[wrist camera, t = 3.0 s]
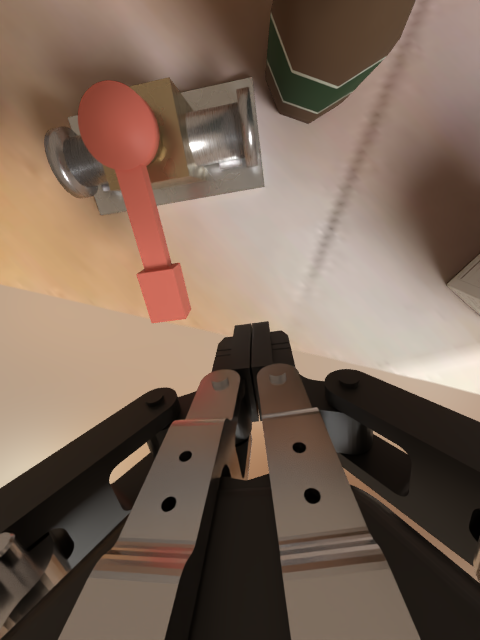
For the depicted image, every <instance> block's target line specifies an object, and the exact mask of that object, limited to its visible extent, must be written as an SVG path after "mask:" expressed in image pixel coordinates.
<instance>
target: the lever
mask: <svg viewBox="0 0 480 640" xmlns="http://www.w3.org/2000/svg"><path fill="white" fill-rule="evenodd" d="M78 126H79V131H80V134H81V137H82V140H83V142H84V144H85V146H86V147H87V149H88V151H89V152H90V153H91V154H92V156H93V157H94V158H95V159H96V160H98V161H99V162H100V163H102V164H103V165H105V166H107V167H109V168H112V169H115V172H116V175H117V179H118V182H119V185H120V189H121V192H122V195H123V199H124V202H125V206H126V209H127V212H128V216H129V219H130V222H131V226H132V229H133V232H134V236H135V239H136V242H137V246H138V249H139V252H140V256H141V259H142V262H143V266H144V270H142V271H141V272H139V273H138V274H137V278H138V281H139V284H140V287H141V290H142V294H143V297H144V300H145V303H146V306H147V310H148V313H149V316H150V319H151V322H152V323H157V322H165V321H173V320H181V319H186V318H187V316H188V314H189V312H190V310H191V307H190V303H189V298H188V294H187V290H186V286H185V282H184V278H183V274H182V270H181V266H180V263H175V264H172V263H171V260H170V256H169V252H168V248H167V244H166V240H165V236H164V232H163V229H162V225H161V221H160V217H159V213H158V209H157V205H156V201H155V198H154V194H153V190H152V186H151V182H150V178H149V174H148V171H147V167H146V166H148V165H149V164H150V163H151V161H152V160H153V159H154V157H155V155H156V153H157V150H158V147H159V140H160V134H159V126H158V122H157V119H156V117H155V114H154V112H153V111H152V109H151V107H150V106H149V105H148V103H147V102H146V101H145V100H144V99H143V98H142V97H141V96H139V95H138V94H137V93H136V92H135V91H134V90H132V89H131V88H130V87H128V86H126V85H125V84H123V83H120V82H117V81H111V80H106V81H101V82H98V83H96V84H94V85H92V86H91V87H90V88H89V89H88V90H87V91H86V92H85V94H84V95H83V97H82V99H81V101H80V105H79V109H78Z"/></svg>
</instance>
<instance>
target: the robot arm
mask: <svg viewBox="0 0 480 640" xmlns="http://www.w3.org/2000/svg"><path fill="white" fill-rule="evenodd" d="M258 409H259V411H258ZM259 415H260V421H262V423H263V431H264V438H265V445H266V453H267V460H268V467H269V474H267V475H263V476H261V477H257V478H254V479H251V480H248V474H249V464H250V455H251V445H252V436H251V429H252V422H256V421H259ZM373 431H375V432H377V433H378V434H380V435H382V436H383V437H385V438H387V439H388V440H390V441H392V442H394V443H395V444H397V445H399V446H400V447H401V448H403V449H404V450H405V451H406V453H407V454H406V453H404V452H403V451H401V450H399V449H397V448H396V447H394V446H392V445H391V444H389V443H387V442H386V441H384V440H382V439H381V438H379V437H377V436H376V435H374V434H373ZM146 442H147V444H148V446H149V449H150V451H151V453H149V454H148V455H147V456H146V457H144V458H143V459H142V460H141V461H140V462H138V463H137V464H136V465H135V466H134V467H132V468H131V469H130V470H129V471H128V472H126V473H125V474H124V475H123V476H121V477H120V478H119V479H118V480H117V481H115V482H114V483H112V484H110V483H109V477H110V474H111V472H112V470H113V469H114V468H115V467H116V466H117V465H118V464H119V463H120V462H122V461H123V460H124V459H126V458H127V457H128V456H129V455H130V454H132V453H133V452H134V451H136V450H137V449H138V448H139V447H141V446H142V445H143V444H145V443H146ZM343 468H345V469H346V470H347V471H349V472H350V473H351V474H353V475H354V476H355V477H356V478H358V479H359V480H360V481H362V482H363V483H364V484H366V485H367V486H369V487H370V488H371V489H372V490H374V491H375V492H376V493H378V494H379V495H380V496H381V497H383V498H384V499H386V500H387V501H388V502H389V503H391V504H392V505H393V506H395V507H396V508H397V509H399V510H400V511H401V512H402V513H404V514H405V515H406V516H408V517H409V518H410V519H412V520H413V521H414V522H416V523H417V524H418V525H419V526H421V527H422V528H423V529H425V530H426V531H427V532H429V533H430V534H431V535H433V536H434V537H435V538H437V539H438V540H439V541H440V542H442V543H443V544H444V545H446V546H447V547H448V548H450V549H451V550H452V551H454V552H455V553H456V554H458V555H459V556H460V557H461V558H463V559H464V560H465V561H467V562H468V563H470V564H471V565H472V566H473V567H474V570H475V573H476V576H477V578H478V581H479V582H477V581H476V580H475V579H474V578H472V577H471V576H470V575H469V574H468V573H466V572H465V571H464V570H463V569H462V568H460V567H459V566H458V565H457V564H455V563H454V562H453V561H452V560H451V559H449V558H448V557H447V556H446V555H445V554H443V553H442V552H441V551H440V550H438V549H437V548H436V547H435V546H433V545H432V544H431V543H430V542H429V541H428V540H426V539H425V538H424V537H423V536H421V535H420V534H419V533H418V532H417V531H415V530H414V529H413V528H412V527H411V526H409V525H408V524H407V523H406V522H404V521H403V520H402V519H401V518H400V517H398V516H397V515H396V514H394V513H393V512H392V511H391V510H390V509H389V508H387V507H386V506H385V505H384V504H382V503H381V502H380V501H379V500H377V499H376V498H374V497H373V496H371V495H370V494H368V493H367V492H365V491H363V490H361V489H359V488H357V487H355V486H352V485H350V484H349V482H348V480H347V477H346V475H345V472H344V470H343ZM0 640H480V422H478V421H476V420H473V419H471V418H469V417H466V416H464V415H461V414H459V413H457V412H455V411H452V410H450V409H448V408H445V407H443V406H441V405H438V404H436V403H434V402H431V401H429V400H426V399H424V398H422V397H419V396H417V395H415V394H412V393H410V392H407V391H405V390H403V389H401V388H398V387H396V386H393V385H391V384H389V383H386V382H384V381H381V380H379V379H377V378H375V377H372V376H370V375H368V374H365V373H363V372H360V371H357V370H351V369H342V370H337V371H334V372H332V373H330V374H329V375H327V377H326V378H325V381H316V380H311V379H307V378H305V377H303V376H301V375H300V374H299V372H298V370H297V369H296V368H295V364H294V359H293V355H292V351H291V347H290V343H289V338H288V335H287V334H285V333H284V332H283V331H274V332H270V329H269V322H268V321H267V322H259V323H252V325H251V324H244V325H236V326H235V328H234V335H233V337H225V338H224V339H223V340H222V341H221V342H220V343H219V344H218V348H217V352H216V357H215V360H214V364H213V369H212V372H211V373H209V374H208V375H206V376H205V377H204V378H203V379H202V380H201V382H200V385H199V387H198V389H197V391H196V392H193V393H190V394H187V395H184V396H181V397H177V394H176V392H175V391H174V390H173V389H171V388H157V389H154V390H151V391H149V392H147V393H146V394H144V395H142V396H141V397H139V398H138V399H136V400H135V401H133V402H132V403H130V404H128V405H127V406H125V407H124V408H122V409H121V410H119V411H118V412H116V413H115V414H113V415H112V416H110V417H109V418H107V419H106V420H104V421H103V422H101V423H99V424H98V425H96V426H95V427H93V428H92V429H90V430H89V431H87V432H86V433H84V434H83V435H81V436H80V437H78V438H77V439H75V440H74V441H72V442H70V443H69V444H67V445H66V446H65V447H63V448H61V449H60V450H58V451H57V452H55V453H54V454H52V455H51V456H49V457H48V458H46V459H45V460H43V461H42V462H40V463H39V464H37V465H35V466H34V467H32V468H31V469H29V470H28V471H26V472H25V473H23V474H22V475H20V476H19V477H17V478H16V479H14V480H12V481H11V482H10V483H8V484H7V485H5V486H3V487H2V488H0Z"/></svg>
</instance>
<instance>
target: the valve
mask: <svg viewBox="0 0 480 640" xmlns="http://www.w3.org/2000/svg"><path fill="white" fill-rule="evenodd" d="M129 87H130V88H131V89H132V90H134V91H135V92H136V93H137V94H138V95H139V96H141V97H142V98H143V99H144V100H145V101H146V102H147V103H148V105H149V106H150V107H151V109H152V111H153V112H154V114H155V117H156V119H157V122H158V126H159V134H160V140H159V147H158V150H157V153H156V155H155V157H154V159H153V160H152V161H151V163H150V164H149V165H148V166H146V167H147V171H148V174H149V178H150V182H151V186H152V190H153V194H154V198H155V201H156V205H157V206H158V205H163V204H169V203H175V202H180V201H186V200H192V199H197V198H203V197H209V196H215V195H220V194H226V193H232V192H237V191H243V190H249V189H254V188H260V187H264V178H263V169H262V160H261V151H260V142H259V133H258V124H257V115H256V106H255V98H254V89H253V80H252V77H250V78H245V79H241V80H236V81H232V82H227V83H222V84H218V85H213V86H209V87H204V88H200V89H195V90H190V91H186V92H181V93H180V91H179V90H178V89H177V87H176V86H175V85H174V83H173V82H172V81H171V79H170V78H164V79H160V80H156V81H151V82H147V83H142V84H138V85H133V86H129ZM81 98H82V97H81ZM68 120H69V123H70V126H71V129H72V130H71V129H70V128H67V127H59V128H54V129H50V130H48V131H47V133H46V135H45V140H44V144H45V152H46V156H47V159H48V162H49V164H50V167H51V169H52V171H53V173H54V175H55V176H56V178H57V179H58V181H59V182H60V184H61V185H62V186H63V187H64V189H65V190H66V191H67V192H69V193H70V194H71V195H73V196H74V197H76V198H86V197H91V196H94V197H95V200H96V203H97V206H98V209H99V212H100V215H106V214H112V213H118V212H123V211H127V209H126V206H125V202H124V199H123V195H122V192H121V189H120V185H119V182H118V179H117V175H116V172H115V169H112V168H109V167H107V166H105V165H103V164H102V163H100V162H99V161H98V160H96V159H95V158H94V157H93V156H92V154H91V153H90V152H89V151H88V149H87V147H86V146H85V144H84V142H83V140H82V137H81V134H80V131H79V126H78V115H76V116H72V117H68Z"/></svg>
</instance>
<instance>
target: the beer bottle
mask: <svg viewBox="0 0 480 640" xmlns="http://www.w3.org/2000/svg"><path fill="white" fill-rule="evenodd" d="M414 3H415V0H273V4H272V8H271V15H270V27H269V38H268V50H267V61H266V72H265V73H266V81H267V84H268V86H269V89H270V91H271V94H272V96H273V99H274V101H275V104H276V106H277V108H278V111H279V113H280V114H282V115H285V116H288V117H290V118H293V119H296V120H299V121H302V122H305V123H308V124H309V123H311V122H312V121H314V120H315V119H317V118H319V117H320V116H322V115H323V114H325V113H327V112H328V111H330V110H331V109H333V108H335V107H336V106H338V105H339V104H340V103H342V102H343V101H344V100H345V99H346V98H347V97H348V96H349V95H350V94H351V93H352V92H353V91H354V90H355V89H356V88H357V87H358V85H359V84H360V83H361V82H362V81H363V80H364V79H365V78H366V77H367V76H368V75H369V74H370V73H371V72H372V71H373V70H374V69H375V68H376V67H377V66H378V65H379V64H380V63H381V61H382V60H383V59H384V58H385V57H386V56H387V55H388V54H389V52H390V51H391V50H392V48H393V47H394V46H395V44H396V43H397V42H398V40H399V39H400V37H401V35H402V32H403V30H404V27H405V25H406V23H407V20H408V18H409V15H410V13H411V10H412V8H413V5H414Z"/></svg>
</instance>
